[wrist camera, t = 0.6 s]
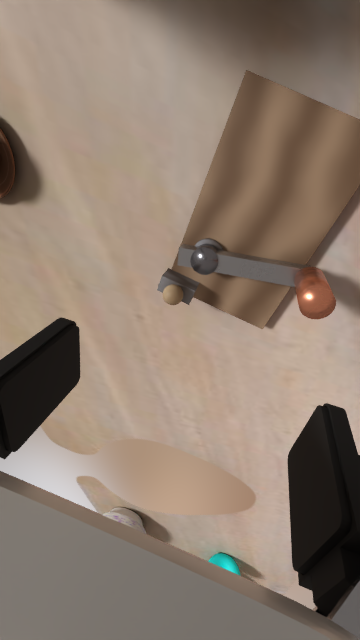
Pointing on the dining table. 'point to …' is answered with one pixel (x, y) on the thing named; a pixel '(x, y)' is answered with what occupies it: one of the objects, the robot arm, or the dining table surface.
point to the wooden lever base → (268, 194)
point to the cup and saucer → (6, 166)
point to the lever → (265, 275)
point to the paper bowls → (126, 518)
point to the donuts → (225, 562)
